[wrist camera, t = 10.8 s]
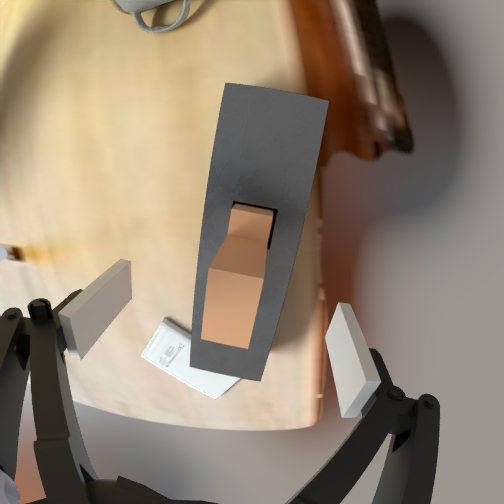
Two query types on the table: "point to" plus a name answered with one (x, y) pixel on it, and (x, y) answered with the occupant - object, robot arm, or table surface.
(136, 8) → the ceramic mug
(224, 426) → the table surface
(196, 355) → the rail
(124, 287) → the robot arm
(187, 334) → the external hard drive
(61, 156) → the table surface
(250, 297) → the tan wooden block
